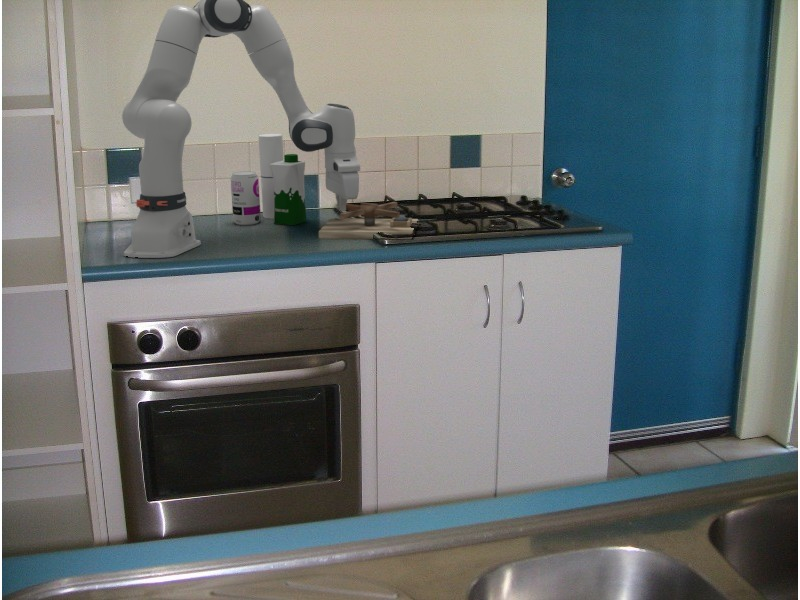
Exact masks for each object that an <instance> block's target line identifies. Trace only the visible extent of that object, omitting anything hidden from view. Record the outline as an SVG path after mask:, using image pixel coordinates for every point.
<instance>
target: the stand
mask: <svg viewBox="0 0 800 600" xmlns="http://www.w3.org/2000/svg"><path fill="white" fill-rule="evenodd" d="M417 221H418V222H419V219H418V218H413V217H406V221H396V218H394V217H391V218H376V217H363V218H353V217H351V218H346V219H340V217H339V218H337V217H334V218H333V217H331V218H329V219H328V221H327V222H326V223H325V224H323V226H322V227H321V228H320V229H319V230H318V239H333V240H334V239H335V240H337V239H338V240H339V239H341V240H343V239H345V240H348V239H349V240H374V239H373V234H374V233H378V232H379V233H380V232H384V233H391V234H412V233H413V230H414V228H411V227H410V226H411V224H412V223H417Z"/></svg>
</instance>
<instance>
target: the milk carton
mask: <svg viewBox="0 0 800 600" xmlns="http://www.w3.org/2000/svg"><path fill="white" fill-rule="evenodd" d="M270 168H271V172H272V176H273V187H274V206H275V208H274V219H273V224H274V225H275V224H277V225H284V226H285V225H287V226H296V225H300V224H302V223H305V222H307V212H306V211H307V209H306V194H305V193H306V192H305V191H306V190H305V170H306V169H305V168H306V162H305V161H302V160H301V161H299V154H296V153H289V154H283V161H280V162H275V163H273V164H270Z"/></svg>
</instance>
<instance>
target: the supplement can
mask: <svg viewBox="0 0 800 600" xmlns="http://www.w3.org/2000/svg"><path fill="white" fill-rule="evenodd" d="M230 191H231V205H232V222H233V223H235V224H236V225H238V226H252V225H258V224H259V223H260V221H262V219H261V218H262V215H261V201H260V200H261V199H260V182H259V177H258V175H257V172H256V171H245V170H244V171H243V170H242V171H236V172H232V174H231V177H230Z"/></svg>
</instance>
